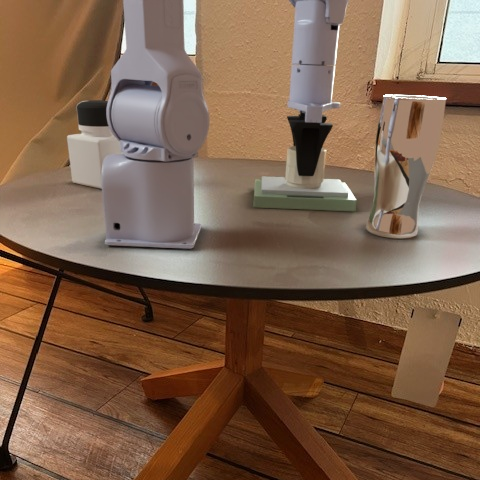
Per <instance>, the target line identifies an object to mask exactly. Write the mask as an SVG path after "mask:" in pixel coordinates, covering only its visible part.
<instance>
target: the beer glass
mask: <svg viewBox="0 0 480 480" xmlns="http://www.w3.org/2000/svg"><path fill="white" fill-rule="evenodd" d="M446 102H447V98H446V97H439V96H429V95H428V96H427V95H410V94H409V95H408V94H385V95H383V99H382V104H381V107H380V112H379V116H378V121H377V127H376V132H375V139H374V150H373V169H374V170H373V174H374V175H373V177H374V181H373V182H374V190H373V191H374V195H373V202H372V206H371V210H370V213H369V216H368V219H367V222H366V225H365V229H366V230H367V232H369V233H370V234H371V235H375V236H378V237H381V238H387V239H397V240H399V239H400V240H401V239H402V240H403V239H404V240H405V239H412V238H414V237H416V236H417V235H418V234H419V233H418V232H419V210H420V204H421V200H422V196H423V194H424V191H425V187H426V185H427V183H428V180H429V178H430V175H431V173H432V172H431V171H432V170H433V167H434V164H435V161H436V159H437V155H438V152H439V147H440V143H441V138H442V134H443V133H442V132H443V127H444V119H445V109H446Z"/></svg>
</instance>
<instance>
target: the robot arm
mask: <svg viewBox="0 0 480 480" xmlns="http://www.w3.org/2000/svg"><path fill="white" fill-rule="evenodd" d="M288 2H289V3H290V4H291V5H292V7H293V8H294V23H293V35H292V37H293V38H292V51H291V66H290V80H289V81H290V82H289V95H288V100H287V103H286V106H287V107H286V108H289V109H293V110H296V111H298V113H299V114H298V115H287V116H286V119H287V121H288V125H289V127H290V131H291V136H292V143H293V144H292V146H295V147H296V161H297V171H298V175H299V176H314V173H315V170H316V167H317V164H318V160H319V156H320V153H321V149H322V148H324V147H323V146H324V144H325V142H326V140H327V138H328V136H329V134H330V133H331V131H332V129H333V127H334V124H333V123H331V122H329V123H328V122H326V121H327V119H328V117H327V116H326V115H324V114H323V113H324V112H326V111H327V112H328V111H331V110H332V109H340V108H341V102H339V101H332V100H333V90H334V82H335V81H334V80H335V72H336V63H337V62H336V61H337V52H338V44H339V43H338V42H339V33H340V25H343V23H344V20H345V18H346V12H347V11H346V10H347V7H348V4H349V2H350V0H288ZM122 3H123V18H124V34H125V46H126V48H125V50H124V52H123V53H122V55H121V56H120V58H119V59H118V60H117V62H116V63H115V64H114V65H113V67H112V69H111V70H110V76H111V77H110V79H111V88H110V94H109V97H108V99H107V101H108V103H107V109H106V116H107V122H108V126H109V128H110V130H111V132H112V134H113V135H114V137H115V138H116V139H117V140H118V141H120V147H121V152H123V153H124V154H110V155H107V156H106V157H105V159H104V161H103V165H102V175H101V185H102V189H101V195H102V207H103V216H104V227H105V237H106V238H105V240H104V245H107V246H118V247H119V246H121V247H143V248H167V249H194V247H195V245H196V242H197V240H198V238H199V234H200V232H201V230H202V224H201V223H199V222H196V223H195V180H194V179H195V176H194V175H195V173H194V172H195V171H194V169H195V168H194V167H195V165H194V163H195V162H194V161H195V160H194V159H195V158H198V157H199V150H200V149H201V148H202V147H203V146H204V144H205V142H206V140H207V138H208V135H209V130H210V112H209V107H208V104H207V102H206V99H205V95H204V91H203V74H202V73H201V71H200V70H199V68H198V67H197V65H196V64H195V62H194V61H193V60H192V58H191V57H190V56H189V55H188V53H187V51H186V48H185V47H186V46H185V1H184V0H122ZM153 83H156V85H153Z"/></svg>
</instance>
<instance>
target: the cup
mask: <svg viewBox="0 0 480 480" xmlns="http://www.w3.org/2000/svg"><path fill="white" fill-rule="evenodd" d="M327 153H328V150H327V148H324V147H322V149H321V153H320V156H319V160H318V164H317V167H316V170H315V173H314V176H299V175H298V171H297V161H296V147H295V146H294V145H291V146H288V147H286V157H285V172H284V177H285V180H286V184H287V185H288V186H291V187H295V188H306V189H310V188H318V187H320V186H321V183H322V182H323V181H324V179H325V170H326V161H327Z"/></svg>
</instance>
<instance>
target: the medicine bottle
mask: <svg viewBox="0 0 480 480" xmlns="http://www.w3.org/2000/svg"><path fill="white" fill-rule="evenodd" d="M107 103H108V100H101V99H91V100H82V101H80V102H79V103H77V105H76V115H77V124H78V125H77V126H78V131H80V132H81V133H75V134H68V135H67V136H66V141H67V149H68V150H67V151H68V158H69V166H70V175H71V181H72V183H73V184H77V185H82V186H86V187H90V188H95V189H99V190H102V185H101V175H102V165H103V161H104V159H105V157H106V156H107V155H110V154H124V153H123V152H121V147H120V141H118V140H117V139H116V138H115V137H114V135H113V134H112V132H111V130H110V128H109V126H108V122H107V116H106V109H107Z"/></svg>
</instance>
